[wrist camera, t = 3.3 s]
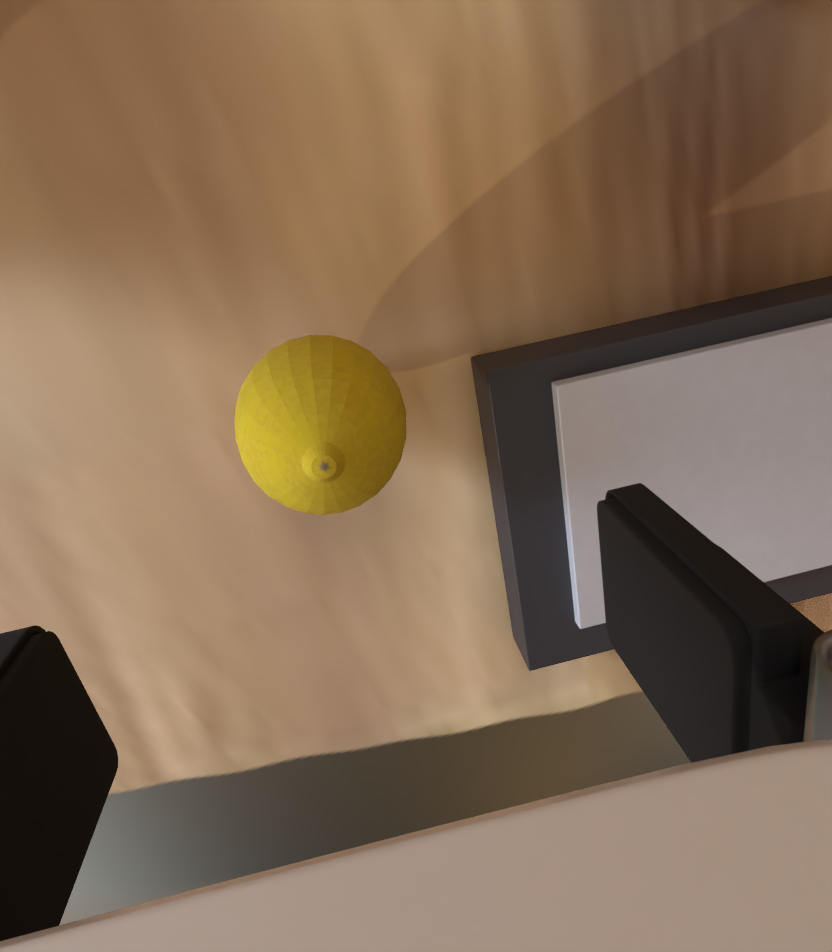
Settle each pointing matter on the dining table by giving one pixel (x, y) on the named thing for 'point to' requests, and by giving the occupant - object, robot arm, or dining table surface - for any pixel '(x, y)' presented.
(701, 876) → the robot arm
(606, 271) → the dining table surface
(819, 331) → the scale
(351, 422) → the lemon
